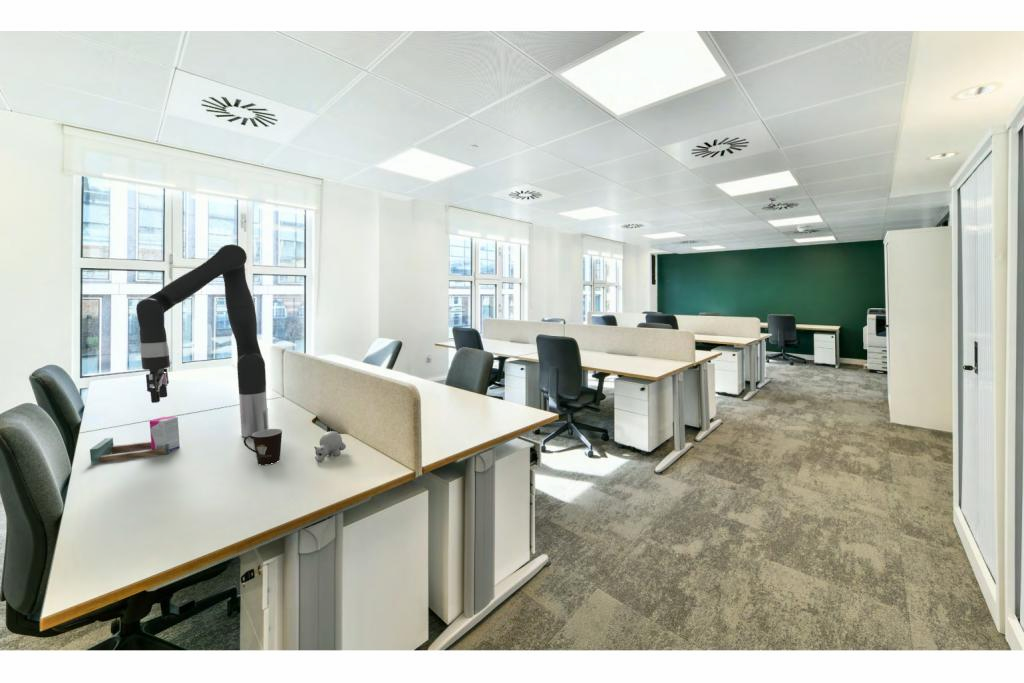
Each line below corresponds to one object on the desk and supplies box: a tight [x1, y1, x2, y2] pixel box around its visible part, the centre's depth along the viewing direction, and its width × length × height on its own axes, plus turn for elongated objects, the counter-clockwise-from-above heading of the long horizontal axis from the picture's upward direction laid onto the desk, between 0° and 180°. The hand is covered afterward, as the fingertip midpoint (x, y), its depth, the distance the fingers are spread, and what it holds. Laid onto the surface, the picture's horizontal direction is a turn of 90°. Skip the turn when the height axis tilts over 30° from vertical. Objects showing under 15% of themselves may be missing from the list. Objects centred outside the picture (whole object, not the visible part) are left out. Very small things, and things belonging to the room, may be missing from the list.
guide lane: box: [89, 437, 171, 465], centre depth 144 cm, size 20×12×5 cm, turn 117°
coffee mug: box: [243, 428, 283, 466], centre depth 138 cm, size 12×9×10 cm
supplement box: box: [149, 416, 181, 452], centre depth 148 cm, size 6×6×12 cm
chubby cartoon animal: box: [313, 430, 347, 463], centre depth 141 cm, size 7×12×8 cm, turn 162°
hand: (159, 399), depth 146 cm, fingers open, 8 cm apart
